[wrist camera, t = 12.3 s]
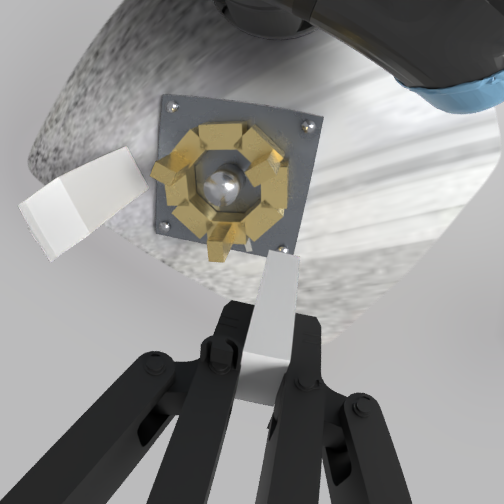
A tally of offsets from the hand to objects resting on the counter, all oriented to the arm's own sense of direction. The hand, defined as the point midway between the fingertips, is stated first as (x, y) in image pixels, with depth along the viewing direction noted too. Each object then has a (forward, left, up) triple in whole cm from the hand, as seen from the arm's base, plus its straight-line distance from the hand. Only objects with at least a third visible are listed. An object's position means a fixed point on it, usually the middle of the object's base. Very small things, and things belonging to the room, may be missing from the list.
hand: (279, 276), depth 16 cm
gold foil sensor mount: (+4, -8, -25) cm, 27 cm away
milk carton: (+6, -24, -27) cm, 37 cm away
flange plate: (+4, -8, -26) cm, 28 cm away
